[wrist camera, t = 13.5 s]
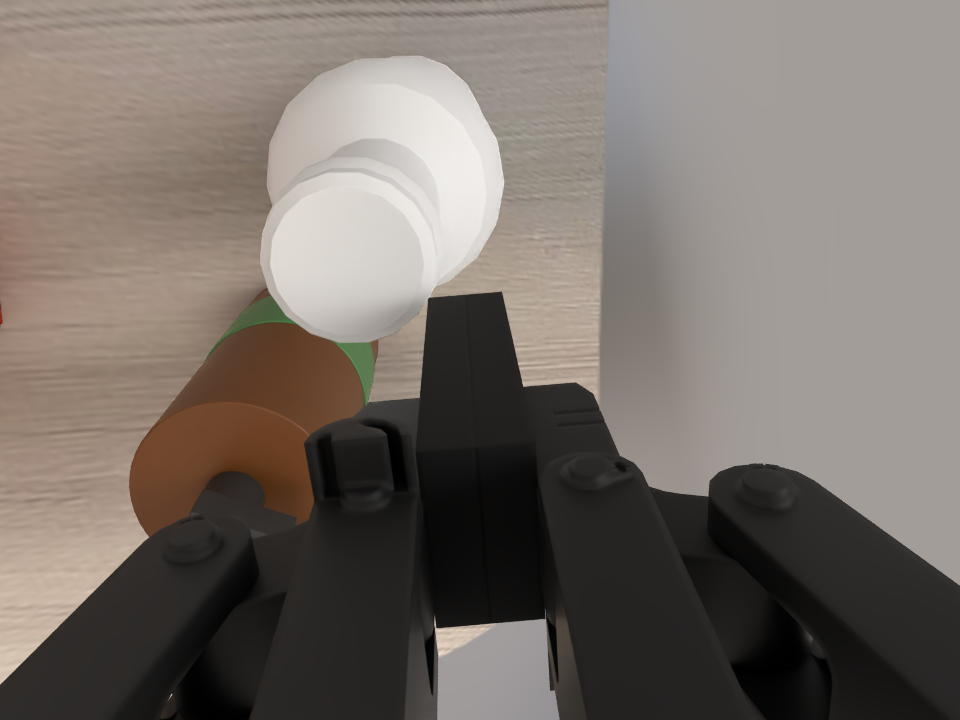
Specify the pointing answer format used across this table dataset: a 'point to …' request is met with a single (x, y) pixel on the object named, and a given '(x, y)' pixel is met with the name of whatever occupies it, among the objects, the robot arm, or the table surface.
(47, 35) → the table surface
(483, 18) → the table surface
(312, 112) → the bottle
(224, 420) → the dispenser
